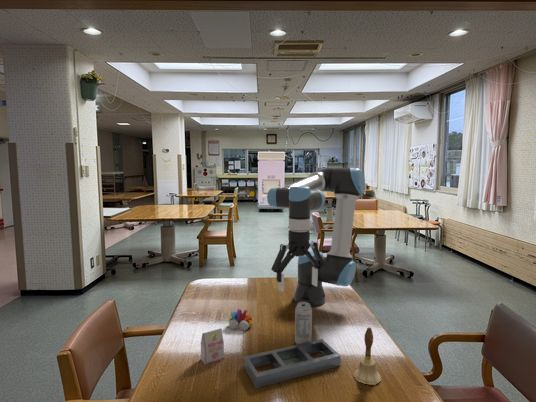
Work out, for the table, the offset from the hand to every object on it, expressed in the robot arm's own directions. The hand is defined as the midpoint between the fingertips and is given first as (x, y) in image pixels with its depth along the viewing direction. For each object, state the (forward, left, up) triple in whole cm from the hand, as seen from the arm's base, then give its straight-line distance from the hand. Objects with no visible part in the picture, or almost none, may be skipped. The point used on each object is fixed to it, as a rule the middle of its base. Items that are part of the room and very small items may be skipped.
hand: (298, 287), depth 124 cm
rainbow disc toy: (+15, -20, -21) cm, 33 cm away
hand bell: (-11, +26, -21) cm, 35 cm away
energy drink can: (-2, +1, -21) cm, 21 cm away
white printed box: (+31, -2, -21) cm, 38 cm away
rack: (+8, +12, -21) cm, 26 cm away
